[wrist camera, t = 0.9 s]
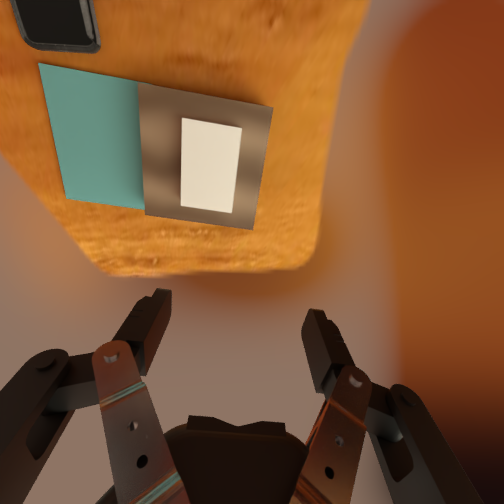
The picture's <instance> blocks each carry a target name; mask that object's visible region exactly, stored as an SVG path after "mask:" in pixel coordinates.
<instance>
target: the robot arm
mask: <svg viewBox="0 0 504 504" xmlns="http://www.w3.org/2000/svg"><path fill="white" fill-rule="evenodd" d="M171 303H172V291H171V290H168V289H160V288H157V289H156V290H155V292H154V294H153V295H152V297H148V296H145V297H144V298H142V299H141V300H139V301H138V302H137V303H136V305H135V306H134V307H133V309H132V311H131V312H130V314H129V315H128V317H127V318H126V320H125V321H124V323H123V324H122V326H121V327H120V329H119V330H118V332H117V333H116V335H115V336H114V338H113V339H112V341H110V342H107V343H105V344H103V345H102V346H100V347H99V348H98V349H97V350H96V351H95V352H92V353H88V354H82V355H75V356H68V353H67V352H66V351H64V350H62V349H51V350H46V351H43V352H41V353H39V354H37V355H35V356H33V357H32V358H30V359H29V360H28V361H27V362H26V363H25V364H24V365H23V366H22V367H21V369H20V370H19V371H18V372H17V373H16V374H15V375H14V377H13V378H12V379H11V380H10V381H9V382H8V383H7V384H6V385H5V386H4V388H3V389H2V390H1V391H0V504H23V502H24V500H25V498H26V497H27V495H28V493H29V491H30V490H31V488H32V486H33V484H34V482H35V481H36V479H37V477H38V475H39V474H40V472H41V470H42V468H43V466H44V465H45V463H46V461H47V459H48V458H49V456H50V454H51V452H52V450H53V449H54V447H55V445H56V443H57V442H58V440H59V438H60V436H61V435H62V433H63V431H64V429H65V427H66V426H67V424H68V422H69V421H70V419H71V417H72V415H73V414H74V412H75V410H76V409H79V408H84V407H87V406H92V405H96V404H100V410H101V415H102V421H103V426H104V432H105V437H106V442H107V447H108V453H109V459H110V464H111V469H112V475H113V479H114V485H113V486H112V487H111V488H110V489H109V490H108V491H107V492H106V493H105V494H104V495H103V496H102V497H101V498H100V499H99V500H98V501H97V502H96V504H350V502H351V497H352V492H353V488H354V484H355V479H356V475H357V470H358V466H359V461H360V457H361V452H362V448H363V444H364V439H365V434H366V431H367V432H368V433H369V435H370V438H371V441H372V444H373V447H374V450H375V453H376V455H377V458H378V461H379V464H380V466H381V469H382V472H383V475H384V478H385V481H386V484H387V486H388V489H389V492H390V495H391V498H392V500H393V503H394V504H484V503H483V502H482V500H481V498H480V497H479V495H478V493H477V491H476V490H475V488H474V487H473V485H472V483H471V481H470V480H469V478H468V476H467V475H466V473H465V472H464V470H463V468H462V467H461V465H460V463H459V462H458V460H457V458H456V457H455V455H454V453H453V452H452V450H451V448H450V447H449V445H448V443H447V442H446V440H445V438H444V437H443V435H442V433H441V432H440V430H439V428H438V427H437V425H436V423H435V422H434V420H433V418H432V417H431V415H430V413H429V412H428V410H427V408H426V407H425V405H424V403H423V402H422V400H421V399H420V397H419V396H418V395H417V394H416V393H415V392H413V391H412V390H411V389H409V388H408V387H406V386H404V385H401V384H394V385H393V386H392V387H391V388H390V389H388V388H385V387H382V386H380V385H378V384H375V383H373V382H371V380H370V378H369V377H368V375H367V374H366V373H365V372H364V371H363V370H361V369H359V368H358V367H356V366H355V364H354V361H353V359H352V357H351V355H350V353H349V351H348V348H347V346H346V344H345V343H344V340H343V338H342V336H341V333H340V331H339V329H338V327H337V326H336V325H335V324H334V323H333V321H332V320H328V319H327V317H326V315H325V313H324V311H323V310H319V309H309V311H308V313H307V316H306V318H305V321H304V323H303V326H302V330H301V336H302V341H303V344H304V348H305V352H306V356H307V360H308V364H309V368H310V371H311V375H312V379H313V383H314V386H315V390H316V393H323V394H324V395H325V401H324V402H323V405H322V407H321V409H320V412H319V414H318V416H317V419H316V421H315V423H314V425H313V428H312V430H311V432H310V435H309V437H308V439H307V441H306V443H305V444H304V443H303V442H301V441H300V440H299V439H298V438H296V437H295V436H294V435H292V434H290V433H288V432H286V430H285V423H279V422H267V421H260V422H256V423H252V424H247V425H243V426H234V425H232V424H229V423H226V422H224V421H222V420H219V419H217V418H214V417H204V416H192V415H189V418H188V422H187V423H186V424H183V425H179V426H177V427H175V428H173V429H171V430H169V431H167V432H166V433H164V434H163V431H162V428H161V425H160V423H159V420H158V417H157V414H156V412H155V409H154V406H153V403H152V400H151V398H150V395H149V392H148V389H147V387H146V384H145V383H144V382H142V380H141V377H140V376H146V375H147V372H148V370H149V368H150V365H151V363H152V361H153V358H154V356H155V354H156V351H157V349H158V347H159V344H160V342H161V339H162V337H163V335H164V332H165V330H166V328H167V325H168V323H169V320H170V317H171V305H172V304H171Z"/></svg>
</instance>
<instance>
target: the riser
mask: <svg viewBox="0 0 504 504" xmlns="http://www.w3.org/2000/svg"><path fill="white" fill-rule="evenodd" d="M138 100H139V117H140V135H141V152H142V170H143V188H144V205H145V215H149V216H156V217H163V218H170V219H178V220H185V221H192V222H199V223H206V224H213V225H220V226H227V227H234V228H241V229H248V230H253V226H254V220H255V214H256V208H257V202H258V196H259V190H260V184H261V178H262V172H263V166H264V160H265V154H266V148H267V142H268V136H269V130H270V124H271V118H272V112H273V107H268V106H263V105H257V104H252V103H246V102H241V101H236V100H230V99H225V98H220V97H214V96H209V95H204V94H198V93H193V92H187V91H182V90H177V89H171V88H166V87H161V86H155V85H150V84H145V83H139V82H138ZM182 118H187V119H192V120H198V121H204V122H209V123H215V124H221V125H226V126H232V127H238V128H242V134H241V143H240V151H239V159H238V168H237V176H236V185H235V193H234V201H233V209H232V213H227V212H220V211H213V210H206V209H200V208H193V207H186V206H181V147H182Z"/></svg>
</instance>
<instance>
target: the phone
mask: <svg viewBox="0 0 504 504" xmlns="http://www.w3.org/2000/svg"><path fill="white" fill-rule="evenodd" d="M10 2H11V5H12V8H13V12H14V15H15V18H16V21H17V24H18V28H19V31H20V34H21V36H22V38H23V39H24V41H25V42H26V43H27V44H28V45H29V46H31V47H33V48H35V49H38V50H42V51H57V52H74V53H90V54H93V53H97V52H98V51H99V49H100V46H101V41H100V35H99V30H98V25H97V20H96V15H95V10H94V4H93V0H10Z"/></svg>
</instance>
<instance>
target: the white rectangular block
mask: <svg viewBox="0 0 504 504" xmlns="http://www.w3.org/2000/svg"><path fill="white" fill-rule="evenodd" d="M241 134H242V128H238V127H232V126H226V125H221V124H215V123H209V122H204V121H198V120H192V119H187V118H182V147H181V206H186V207H193V208H200V209H206V210H213V211H220V212H227V213H232V209H233V201H234V193H235V185H236V176H237V168H238V159H239V151H240V143H241Z"/></svg>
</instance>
